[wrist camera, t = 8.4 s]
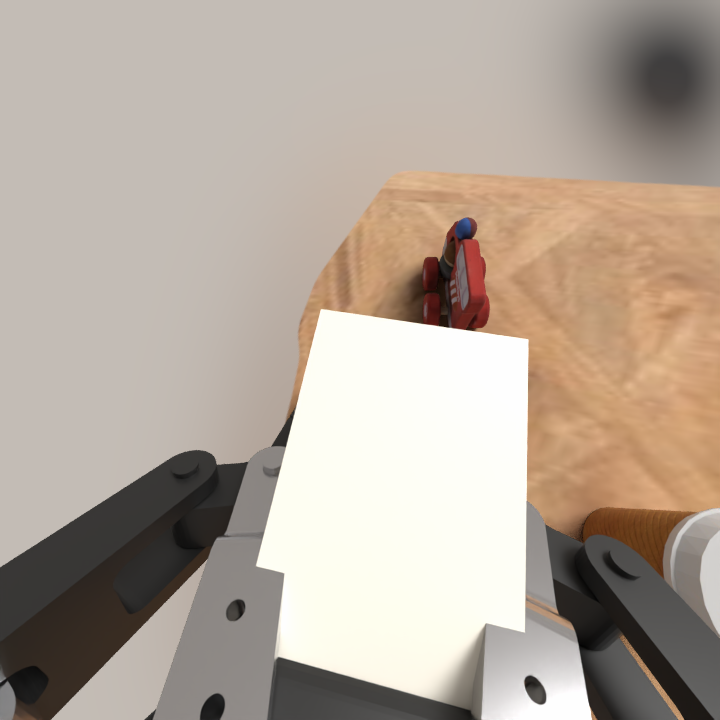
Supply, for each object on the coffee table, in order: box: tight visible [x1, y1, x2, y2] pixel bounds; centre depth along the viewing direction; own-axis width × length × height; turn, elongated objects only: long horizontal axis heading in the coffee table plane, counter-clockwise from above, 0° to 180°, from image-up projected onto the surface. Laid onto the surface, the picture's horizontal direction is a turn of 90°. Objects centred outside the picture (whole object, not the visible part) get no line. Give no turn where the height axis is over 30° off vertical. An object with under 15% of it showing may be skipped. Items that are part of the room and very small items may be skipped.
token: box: [256, 309, 528, 710], centre depth 9 cm, size 6×4×10 cm, turn 169°
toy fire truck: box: [422, 218, 490, 330], centre depth 32 cm, size 7×12×10 cm, turn 178°
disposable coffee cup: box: [583, 507, 720, 638], centre depth 22 cm, size 10×10×12 cm
